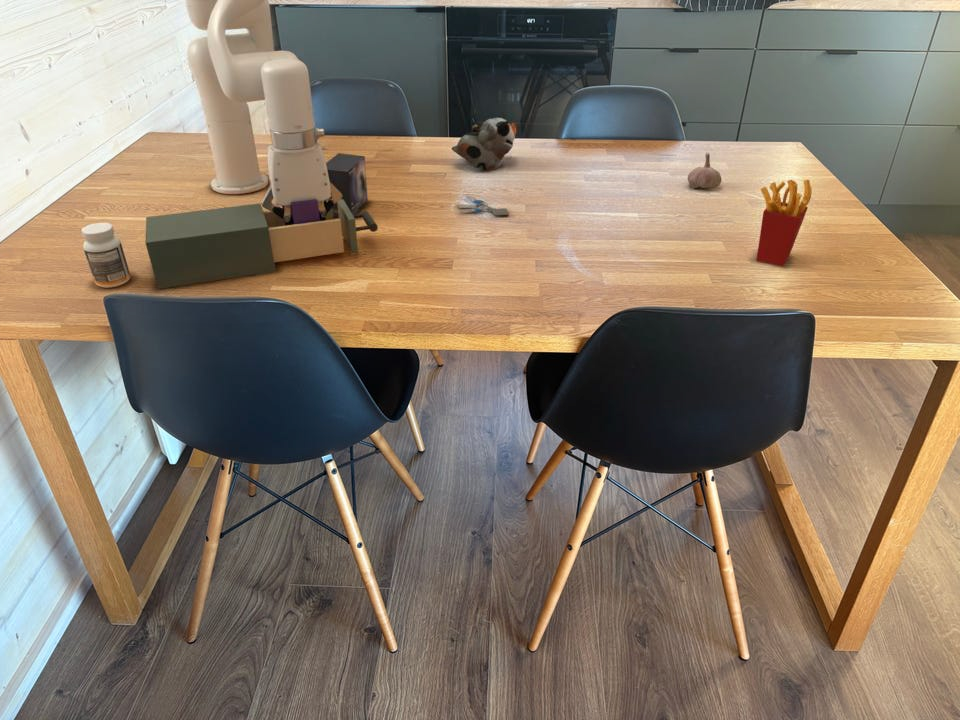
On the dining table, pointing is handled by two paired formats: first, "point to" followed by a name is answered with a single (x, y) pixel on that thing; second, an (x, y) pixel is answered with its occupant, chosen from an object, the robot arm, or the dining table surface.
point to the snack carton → (305, 211)
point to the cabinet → (209, 245)
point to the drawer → (316, 234)
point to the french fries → (781, 222)
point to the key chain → (495, 211)
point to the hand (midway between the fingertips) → (307, 236)
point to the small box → (348, 181)
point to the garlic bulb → (704, 176)
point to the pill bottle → (105, 255)
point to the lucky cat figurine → (487, 143)
